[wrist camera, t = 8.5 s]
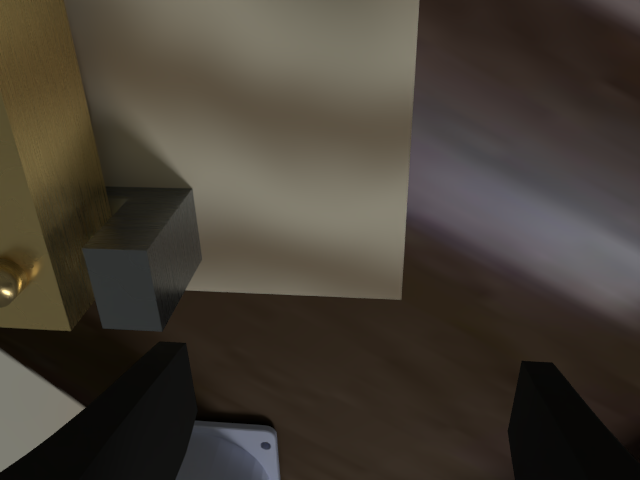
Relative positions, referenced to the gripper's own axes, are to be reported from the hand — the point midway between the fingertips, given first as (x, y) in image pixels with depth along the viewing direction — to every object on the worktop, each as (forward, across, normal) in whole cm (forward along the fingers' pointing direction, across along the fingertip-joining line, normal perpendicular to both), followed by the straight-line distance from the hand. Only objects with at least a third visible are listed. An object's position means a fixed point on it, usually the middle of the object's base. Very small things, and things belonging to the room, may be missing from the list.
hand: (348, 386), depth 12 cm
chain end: (+9, +10, +1) cm, 14 cm away
